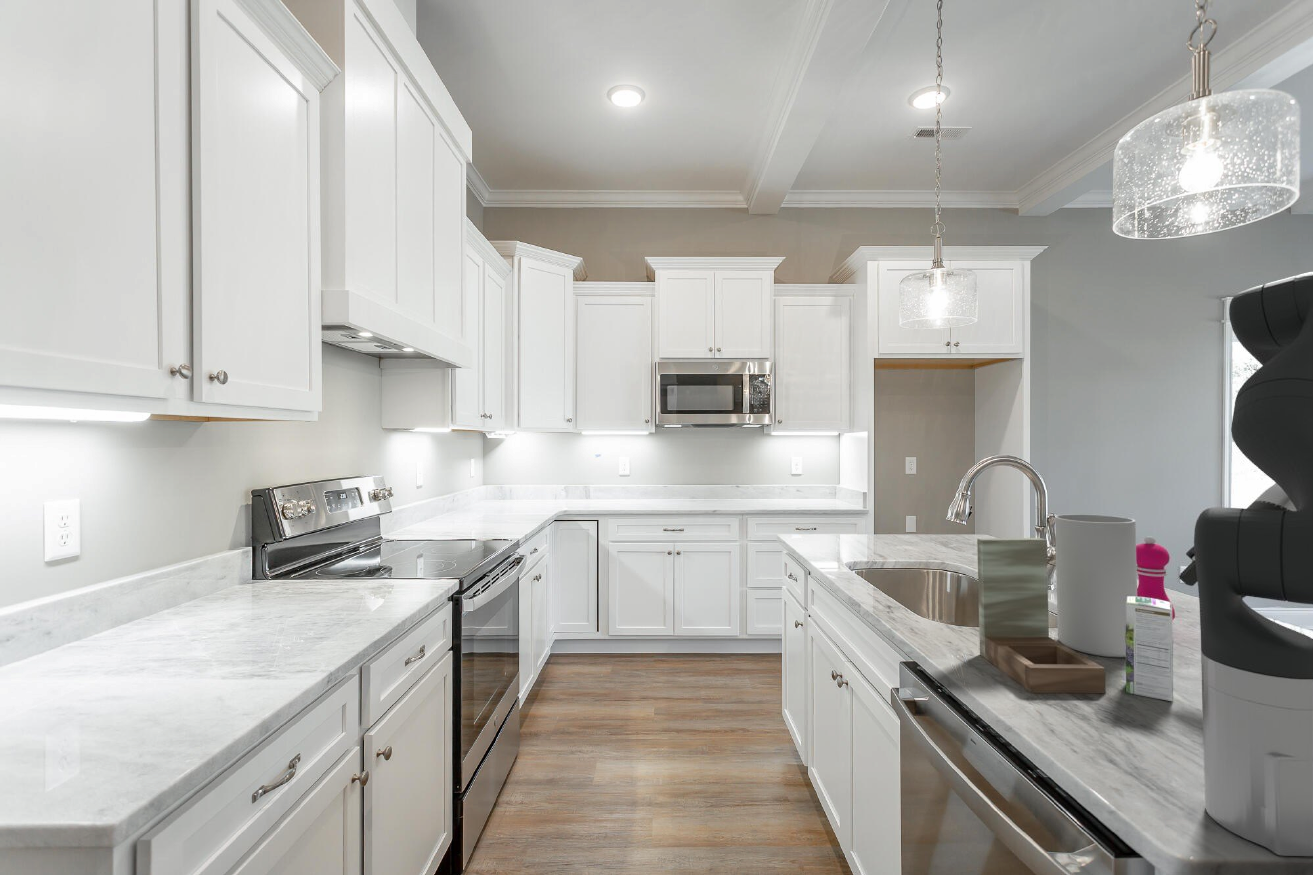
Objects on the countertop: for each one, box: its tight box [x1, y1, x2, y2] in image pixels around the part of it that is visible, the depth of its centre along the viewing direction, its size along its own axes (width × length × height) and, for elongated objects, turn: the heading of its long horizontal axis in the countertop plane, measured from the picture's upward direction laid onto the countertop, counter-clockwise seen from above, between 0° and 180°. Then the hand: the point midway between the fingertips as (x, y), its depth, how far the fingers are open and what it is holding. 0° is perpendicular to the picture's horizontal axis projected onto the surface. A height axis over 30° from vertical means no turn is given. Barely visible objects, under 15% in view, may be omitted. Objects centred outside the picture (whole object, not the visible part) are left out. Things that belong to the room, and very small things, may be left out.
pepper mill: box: [1136, 535, 1176, 621], centre depth 120 cm, size 7×7×20 cm
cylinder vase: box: [1054, 513, 1138, 658], centre depth 113 cm, size 12×12×25 cm
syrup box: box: [1125, 596, 1174, 702], centre depth 93 cm, size 6×6×14 cm
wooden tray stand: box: [976, 537, 1107, 694], centre depth 101 cm, size 17×12×22 cm
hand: (1207, 588), depth 92 cm, fingers open, 8 cm apart
